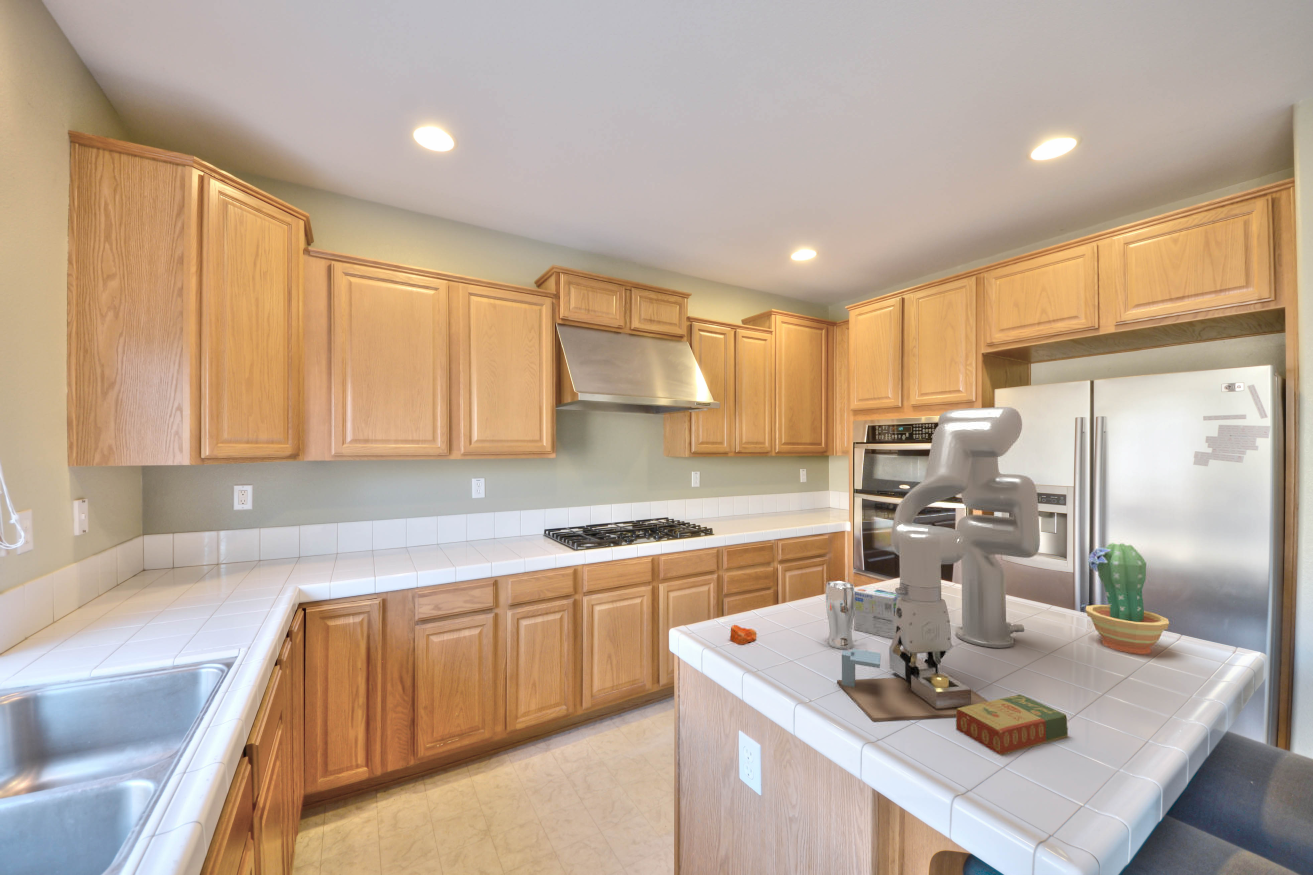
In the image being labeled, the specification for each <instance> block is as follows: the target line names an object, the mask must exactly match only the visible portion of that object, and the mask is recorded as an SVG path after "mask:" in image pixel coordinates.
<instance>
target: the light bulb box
mask: <svg viewBox="0 0 1313 875" xmlns="http://www.w3.org/2000/svg"><path fill="white" fill-rule="evenodd" d="M854 592H855V613H854V619H853V622H854V623H853V629H854V631H859V632H863V633H868V634H871V635H875V636H876V635H877V636H880V637H885V638H889V639H894V616H895V608H896V603H897V598H898V597H900V594H896V592H895V591H892V590H886V589H881V588H880V589H879V588H875V587H868V586H864V585H862V586H860V587H858V588H855V589H854Z"/></svg>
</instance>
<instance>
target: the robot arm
mask: <svg viewBox="0 0 1313 875" xmlns="http://www.w3.org/2000/svg"><path fill="white" fill-rule="evenodd" d="M937 421H938V422H937V423H938V424H937V425H938V426H937V427H936V428H935V429H934V431H933V435H932V440H931V445H930V450H929V455H928V460H927V464H926V469H925V475H924V479H923V480H922V481H921V482H920V483H918V484H917V485H916V486H915V487H913V488H912V489H911V490H909V492H907V493H906V495H905V496H904V497H903V498H902V499H901V501H900V502H899V504H898V505H897V507H896V510H895V513H894V517H893V523H892V527H891V532H890V545H891V548H892V550H893V552H894V553H895V554H896V555H897V556H899V586H898V587H895V589H894V590H895V591H894V592H896V594H900V597H898V598H897V603H896V608H895V616H894V639H893V640H892V641H891V644H890V645H889V648H888V650H890V651H891V652H893V653H894V654H896V655H898V656H899V657H900V658H901V659H902V660H903V661H904V662H905V677H906V680H907V681H908V682H909V683H910V684H911V675H919V670H918V669H919V668H918V667H917V666H916V659H917V657H918V654H924V653H926V654H925V656H926V658H924V660H923V661H924V662H926V663H928V664H929V665H931V666H933V667H934V668H935V672H936V673H939V665H941V663H942V659H943V658H944V657H945V656H946V654H947V653H948V652H950V651H951V650H952V649H953V648H954V645H953V643H952V631H951V622H950V616H949V611H948V610H949V609H948V605H947V603H946V600H945V599H943V598H942V565H953V564H956V563H958V562H959V561H960V563H961V568H960V569H961V616H962V617H961V619H962V620H961V622H962V623H961V624H962V625H961V626H959V627H957V628H955V635H956V637H957V638H959V639H960V640H962V641H964V642H967V643H969V644H972V645H976V646H980V647H986V648H993V649H994V648H995V649H997V648H998V649H1002V648H1003V649H1004V648H1010V647H1013V646H1014V645H1015V640H1014V637H1013V636H1012V634H1014V633H1024V632H1025V627H1024V625H1023V624H1019V623H1018V624H1017V623H1016V624H1012V623H1011V622H1007V594H1006V593H1007V592H1006V591H1007V590H1006V589H1007V588H1006V587H1007V586H1006V571H1005V568H1004V567H1003V565H1002V563H1001V562H1000V561H999V559H998V558H997V557H996V556H995V555H997V556H998V555H1000V556H1006V557H1016V558H1021V559H1023V558H1025V559H1030V558H1034V557H1035V556H1037V554H1038V553H1039V550H1040V543H1041V535H1040V534H1041V533H1040V516H1039V502H1038V500H1039V499H1038V491H1037V487H1036V485H1035V482H1034V481H1033V480H1032V479H1031V478H1030V477H1028V476H1027V475H1023V474H1011V473H1010V474H1009V473H1001V472H1000V470H999V460H998V459H999V458H1001V457H1003V456H1004V455H1006V453H1008V451H1009V450H1010V449H1011V448H1012V447H1013V446H1014V444H1015V443H1016V442H1017V441H1018V439H1019V437H1020V435H1021V433H1022V429H1023V419H1022V416H1021V413H1020V412H1019V411H1018V409H1015V408H1014V407H1011V406H1010V407H1009V406H998V407H997V406H996V407H995V406H994V407H975V408H974V407H972V408H958V409H951V410H946V411H944V412H942V413H941V414H940V415H939V417H938V420H937ZM959 495H960V496H961V501H962V503H963V505H964V507H966V508H968V509H970V510H974V511H980V512H981V511H983V512H994V513H1005V514H1006V513H1007V514H1011V515H1012V517H1010V516H1007V517H1006V516H999V515H990V514H987V515H986V514H968V515H965V516H963V517H961V518H960V519H959V520H958V521H957V523H956V529H954V528H952V527H944V526H937V525H936V526H934V525H929V524H927V525H926V524H918V523H917V524H916V523H914V520H915V518H916V516H917V515H918V513H920V512H921V511H922V510H923V509H924V508H927V507H928V506H930V505H933V504H935V503H938V502H940V501H943V500H947V499H949V498H952V497H953V498H954V497H956V496H959ZM901 647H902V649H903V651H902V650H900V649H901ZM909 654H910V657H909Z"/></svg>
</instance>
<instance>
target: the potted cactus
mask: <svg viewBox="0 0 1313 875" xmlns="http://www.w3.org/2000/svg"><path fill="white" fill-rule="evenodd" d="M1087 560H1088V565H1089V567H1090V570H1094V571H1095V572H1096V573H1097V574H1098V575H1097V576H1098V578H1099V579H1100V581H1101V583H1102V586H1103V587H1104V591H1105V594H1106V600H1107V602H1108V604H1093V605H1092V604H1091V605H1086V607H1085V612H1086V616H1087V617H1089V618H1090V619H1091V621H1092V624H1093V626H1094V629H1095V630H1096V632H1097V633H1098V634H1099V635H1100V637H1101V638H1102V644H1103V645H1105V647H1108V648H1111V649H1113V650H1117V651H1119V652H1124V653H1130V654H1135V655H1136V654H1138V655H1147V654H1152V648H1151V647H1153V646H1154V645H1156V643H1158V641H1159V640H1160V638H1161V636H1162V634H1163V632H1164V630H1165V631H1166V630H1168V629H1169V625H1170V622H1169V618H1166V617H1165V616H1162V615H1160V614H1158V613H1154V612H1151V611H1146V610H1145V609H1144V597H1143V588H1144V585H1145V582H1146V579H1147V578H1146V576H1147V574H1146V573H1147V562H1146V560H1145V559H1144V558H1143V556H1142V555H1141V554H1140V553H1139V552H1138V550H1137V549H1136V548H1135V547H1134V546H1133V545H1132V544H1128V545H1127V544H1125V543H1119V544H1116V543H1114V542H1111V543H1109V544H1107V546H1106V547H1098V548H1095V549H1094V550H1093V551H1092V552H1091V553H1090V554H1089V556H1088V559H1087Z"/></svg>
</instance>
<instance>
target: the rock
mask: <svg viewBox="0 0 1313 875" xmlns="http://www.w3.org/2000/svg"><path fill="white" fill-rule="evenodd" d="M757 635H758V634H757V631H756V630H755V629H752V628H746V627H741V626H739V625H737V624H733V625H731V626H730V636H729V638H730V641H732V642H733V643H734V644H736V645H742V646H744V645H746V644H749V643H752V642H754V641H755V640H756V639H757V637H758V636H757Z"/></svg>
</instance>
